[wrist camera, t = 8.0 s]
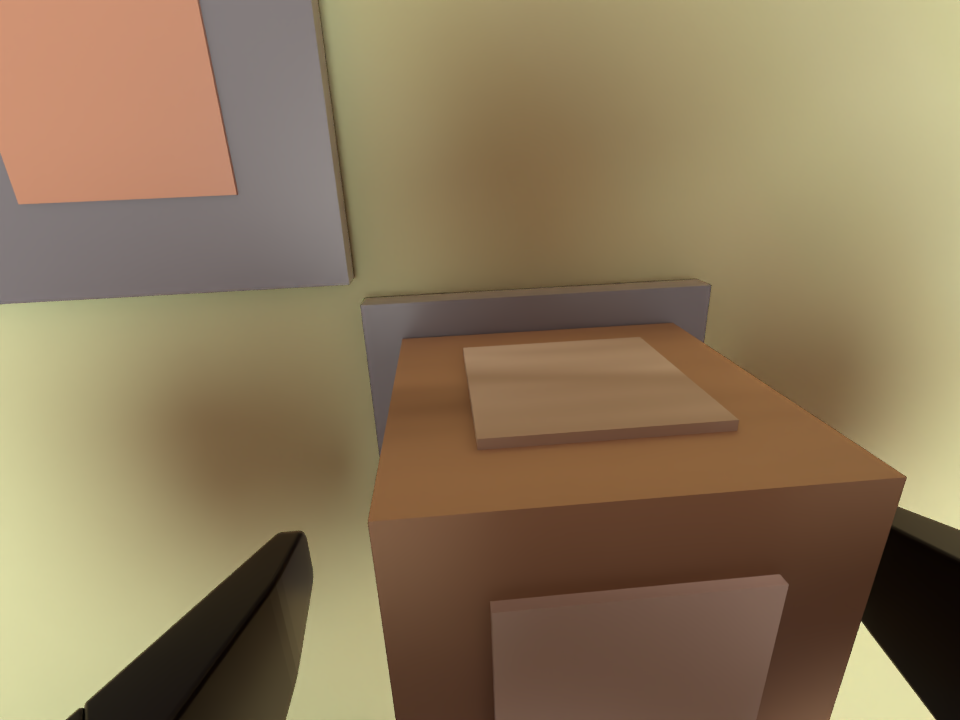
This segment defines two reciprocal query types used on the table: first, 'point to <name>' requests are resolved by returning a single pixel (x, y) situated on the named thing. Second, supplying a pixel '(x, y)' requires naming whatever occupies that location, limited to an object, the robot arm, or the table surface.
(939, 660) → the robot arm
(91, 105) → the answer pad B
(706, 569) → the brown paneled cube
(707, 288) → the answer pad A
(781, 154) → the table surface
